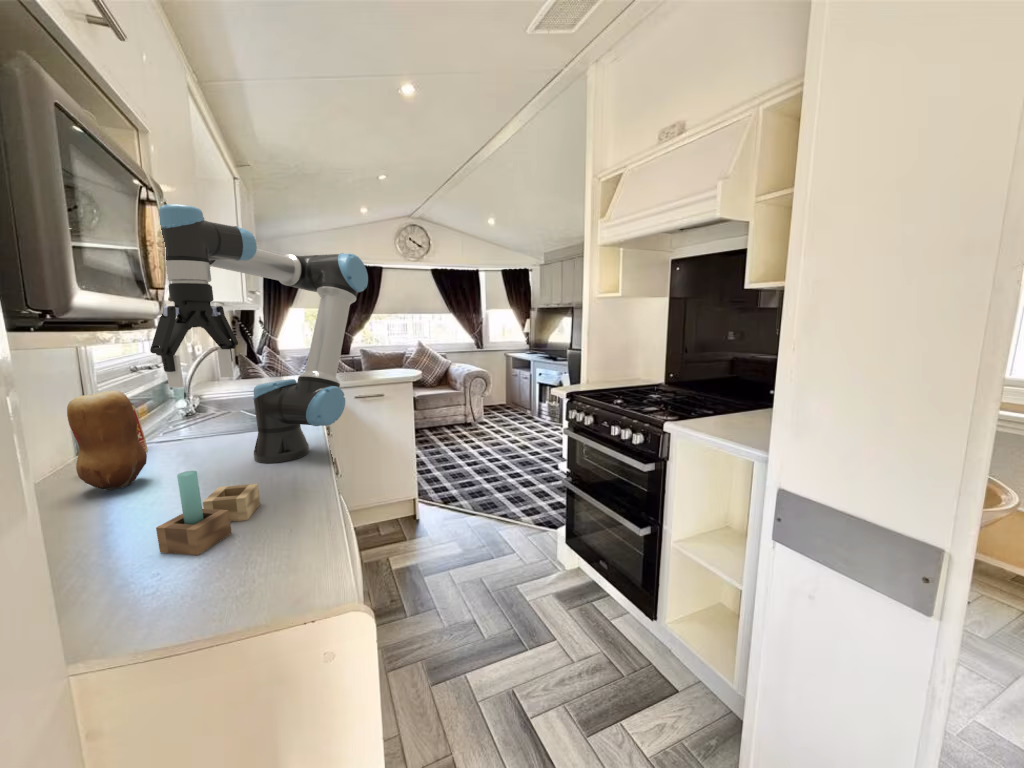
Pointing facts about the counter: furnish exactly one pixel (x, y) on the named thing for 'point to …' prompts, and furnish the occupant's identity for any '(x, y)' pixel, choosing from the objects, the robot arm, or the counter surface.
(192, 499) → the teal cylindrical rod
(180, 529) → the brown wooden square frame
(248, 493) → the light wooden square frame
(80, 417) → the butternut squash
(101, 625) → the counter surface
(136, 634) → the counter surface
